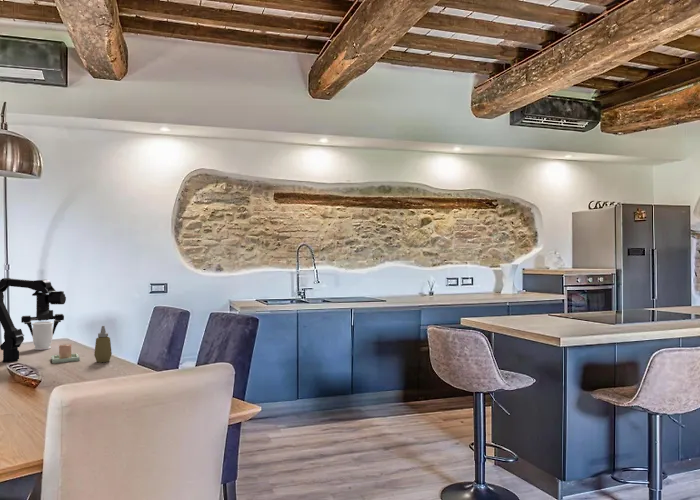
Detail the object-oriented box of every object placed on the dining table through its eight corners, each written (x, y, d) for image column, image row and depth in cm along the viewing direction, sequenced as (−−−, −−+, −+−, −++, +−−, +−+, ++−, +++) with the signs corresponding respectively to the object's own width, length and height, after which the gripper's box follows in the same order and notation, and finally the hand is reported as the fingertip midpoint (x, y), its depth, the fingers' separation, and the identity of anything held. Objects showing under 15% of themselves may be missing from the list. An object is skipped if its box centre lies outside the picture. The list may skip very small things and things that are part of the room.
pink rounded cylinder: (59, 360, 272) (59, 346, 272) (58, 358, 276) (58, 344, 276) (71, 359, 274) (71, 345, 274) (71, 357, 279) (71, 343, 279)
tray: (52, 363, 267) (52, 359, 267) (51, 359, 277) (51, 355, 277) (79, 360, 273) (79, 357, 273) (77, 356, 284) (77, 353, 284)
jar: (46, 350, 301) (46, 323, 301) (27, 350, 301) (28, 323, 301) (56, 347, 312) (56, 321, 312) (39, 347, 312) (39, 321, 312)
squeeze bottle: (90, 362, 270) (90, 326, 270) (104, 359, 277) (104, 324, 277) (101, 363, 266) (101, 327, 266) (115, 361, 273) (115, 325, 274)
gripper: (21, 306, 262) (21, 338, 262) (64, 304, 272) (64, 335, 272) (21, 304, 271) (21, 335, 271) (63, 303, 281) (63, 332, 281)
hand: (42, 335), depth 274 cm, fingers open, 9 cm apart
